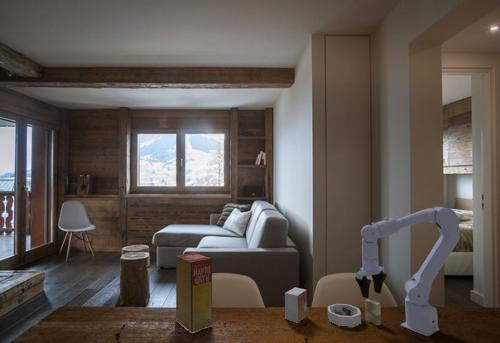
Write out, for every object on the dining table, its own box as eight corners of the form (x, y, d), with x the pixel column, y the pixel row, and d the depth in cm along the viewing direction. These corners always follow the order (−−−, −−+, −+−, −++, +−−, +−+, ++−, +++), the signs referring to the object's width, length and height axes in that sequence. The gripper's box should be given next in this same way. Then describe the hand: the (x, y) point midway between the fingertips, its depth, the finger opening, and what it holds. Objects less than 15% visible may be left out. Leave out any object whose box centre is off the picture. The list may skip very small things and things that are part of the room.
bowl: (367, 321, 112) (366, 311, 112) (346, 330, 106) (346, 319, 106) (342, 310, 122) (341, 301, 122) (321, 318, 115) (321, 308, 115)
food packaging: (214, 326, 110) (213, 257, 111) (190, 335, 104) (190, 262, 105) (196, 314, 120) (195, 251, 121) (174, 322, 115) (173, 255, 116)
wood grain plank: (381, 324, 110) (380, 303, 110) (377, 325, 109) (376, 304, 109) (369, 319, 114) (368, 298, 114) (365, 320, 113) (364, 300, 113)
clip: (353, 317, 114) (353, 309, 114) (343, 321, 110) (343, 313, 111) (344, 313, 117) (344, 306, 117) (334, 317, 114) (334, 309, 114)
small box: (298, 325, 110) (297, 295, 111) (285, 321, 114) (284, 292, 114) (308, 317, 117) (307, 289, 117) (295, 313, 120) (294, 286, 120)
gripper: (372, 253, 120) (373, 287, 119) (348, 258, 112) (350, 296, 111) (389, 256, 114) (390, 293, 113) (365, 262, 106) (366, 302, 105)
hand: (371, 294), depth 112 cm, fingers open, 7 cm apart
